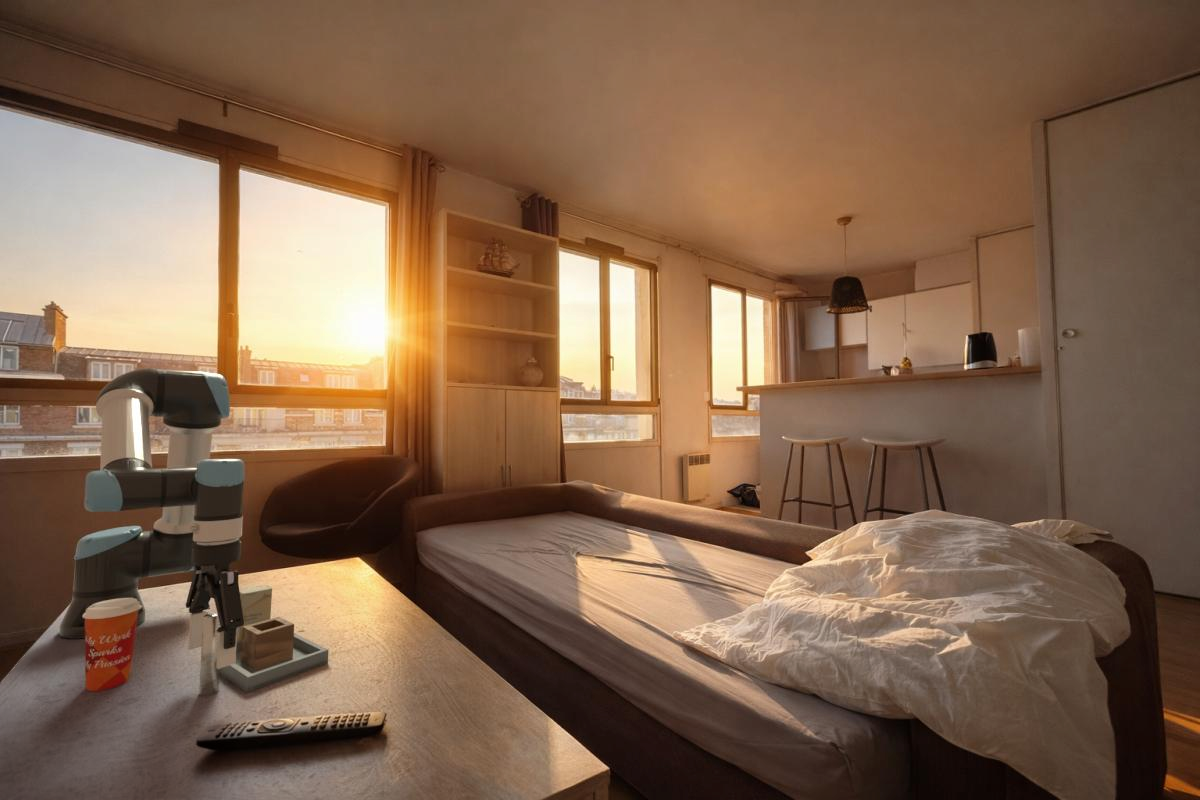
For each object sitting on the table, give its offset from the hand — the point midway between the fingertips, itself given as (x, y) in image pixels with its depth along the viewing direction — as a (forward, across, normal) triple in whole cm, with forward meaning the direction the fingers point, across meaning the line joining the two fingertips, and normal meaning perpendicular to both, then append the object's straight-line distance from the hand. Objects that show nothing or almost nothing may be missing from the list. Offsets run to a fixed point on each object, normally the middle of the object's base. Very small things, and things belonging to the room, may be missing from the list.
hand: (211, 656), depth 97 cm
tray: (+6, -4, +12) cm, 14 cm away
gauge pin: (+7, 0, 0) cm, 7 cm away
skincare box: (+7, -18, +14) cm, 24 cm away
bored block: (+6, -4, +12) cm, 14 cm away
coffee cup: (+7, -19, -10) cm, 23 cm away
